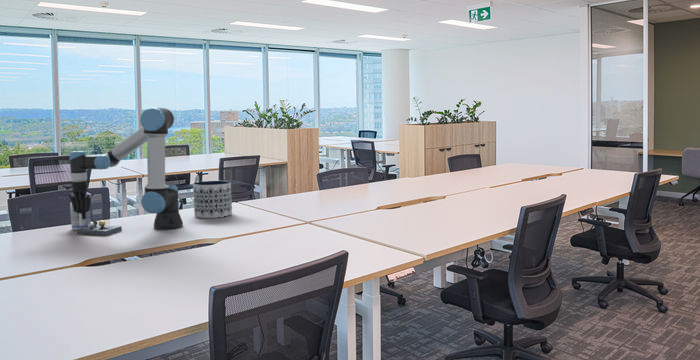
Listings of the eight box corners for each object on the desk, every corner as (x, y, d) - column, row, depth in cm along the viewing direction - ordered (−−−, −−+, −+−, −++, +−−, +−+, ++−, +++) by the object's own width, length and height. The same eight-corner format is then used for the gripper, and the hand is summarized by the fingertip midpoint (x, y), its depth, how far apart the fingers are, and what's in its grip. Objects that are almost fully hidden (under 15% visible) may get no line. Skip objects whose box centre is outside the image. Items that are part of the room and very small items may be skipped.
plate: (121, 230, 284) (121, 226, 283) (106, 235, 272) (105, 230, 272) (93, 229, 288) (92, 225, 288) (76, 234, 277) (76, 229, 276)
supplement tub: (92, 229, 289) (90, 202, 288) (72, 231, 284) (70, 204, 283) (89, 226, 298) (87, 200, 296) (70, 228, 292) (68, 202, 291)
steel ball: (96, 227, 280) (95, 221, 280) (91, 229, 277) (91, 223, 277) (91, 227, 281) (90, 221, 281) (86, 228, 278) (86, 222, 278)
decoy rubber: (98, 225, 286) (98, 219, 286) (94, 226, 283) (94, 221, 282) (93, 225, 287) (93, 219, 286) (89, 226, 284) (89, 220, 283)
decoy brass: (106, 226, 285) (106, 220, 284) (102, 227, 282) (102, 221, 281) (101, 225, 285) (101, 220, 285) (97, 227, 282) (97, 221, 282)
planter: (227, 218, 315) (225, 184, 313) (189, 219, 315) (187, 185, 313) (235, 212, 337) (234, 180, 335) (200, 212, 338) (199, 180, 335)
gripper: (95, 180, 280) (98, 224, 282) (74, 179, 283) (77, 223, 286) (84, 181, 273) (87, 227, 275) (63, 181, 276) (66, 226, 279)
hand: (82, 225), depth 281 cm, fingers closed
